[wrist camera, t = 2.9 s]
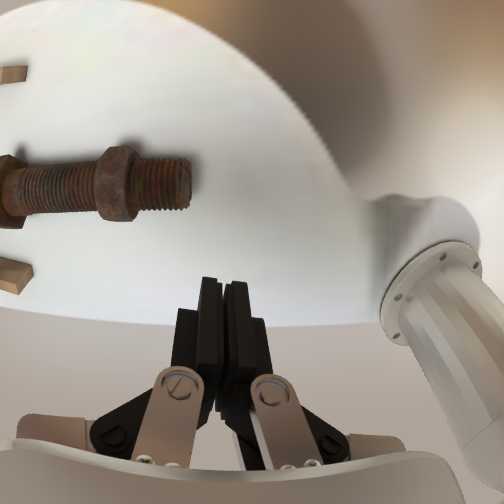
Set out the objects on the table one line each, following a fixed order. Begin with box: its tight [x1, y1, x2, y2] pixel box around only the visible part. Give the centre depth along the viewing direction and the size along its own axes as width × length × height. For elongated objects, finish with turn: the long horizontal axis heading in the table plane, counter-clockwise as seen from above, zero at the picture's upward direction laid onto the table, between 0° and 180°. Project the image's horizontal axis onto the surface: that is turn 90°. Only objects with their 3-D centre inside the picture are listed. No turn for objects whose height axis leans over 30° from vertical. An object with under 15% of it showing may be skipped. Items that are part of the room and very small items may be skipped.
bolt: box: [0, 146, 192, 229], centre depth 16 cm, size 6×5×15 cm
